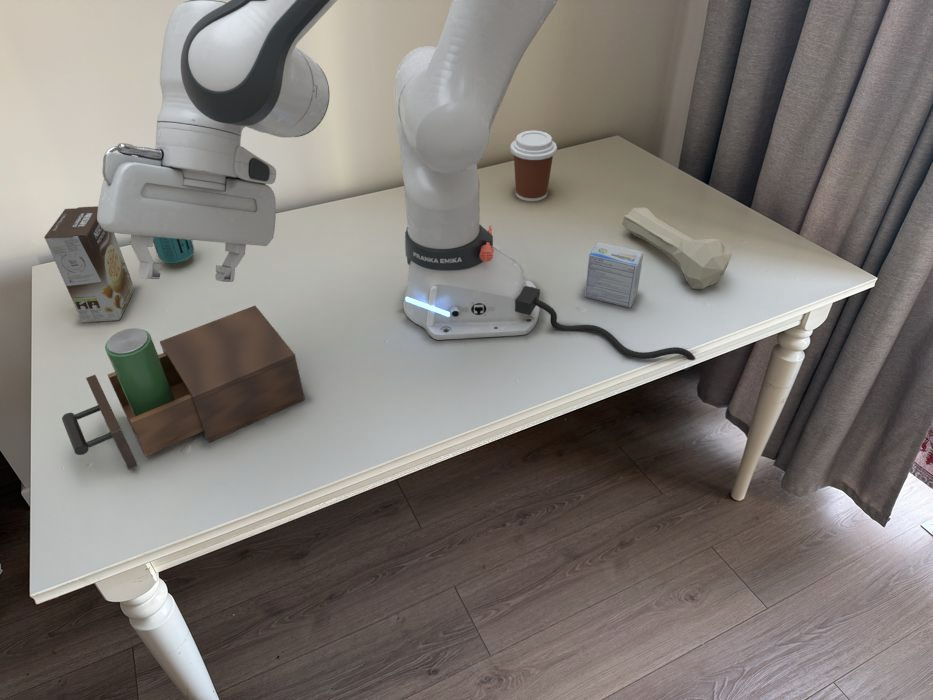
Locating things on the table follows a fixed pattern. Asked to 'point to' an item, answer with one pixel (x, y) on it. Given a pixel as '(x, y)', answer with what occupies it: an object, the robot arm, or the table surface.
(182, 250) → the beverage bottle
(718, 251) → the faceted club
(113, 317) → the coffee box
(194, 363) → the cabinet
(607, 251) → the medicine box
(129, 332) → the green can
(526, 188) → the coffee cup
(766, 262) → the table surface
